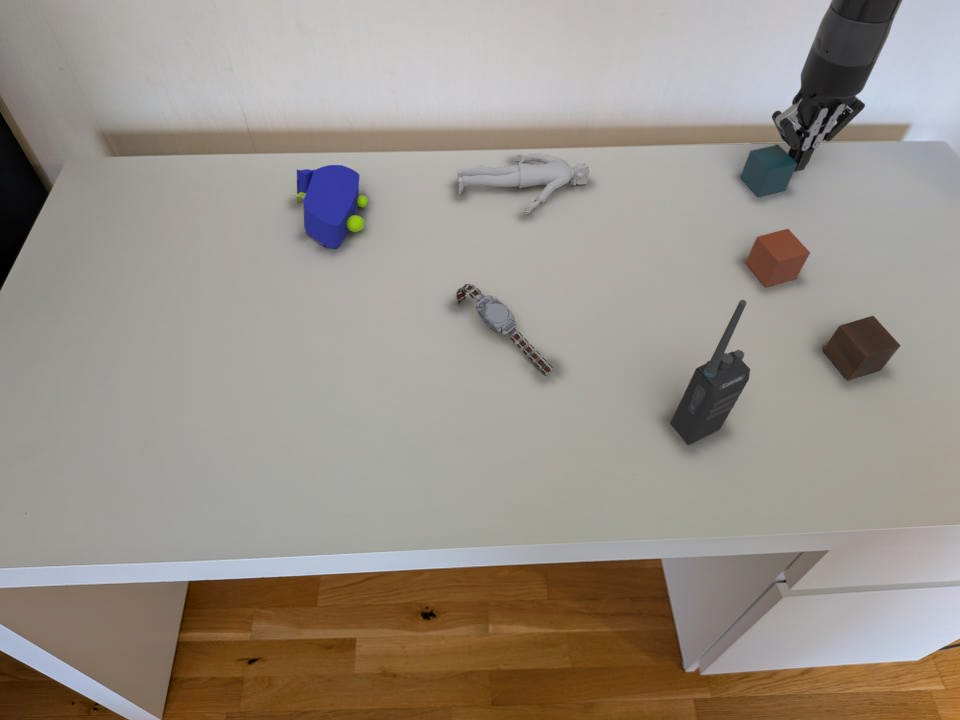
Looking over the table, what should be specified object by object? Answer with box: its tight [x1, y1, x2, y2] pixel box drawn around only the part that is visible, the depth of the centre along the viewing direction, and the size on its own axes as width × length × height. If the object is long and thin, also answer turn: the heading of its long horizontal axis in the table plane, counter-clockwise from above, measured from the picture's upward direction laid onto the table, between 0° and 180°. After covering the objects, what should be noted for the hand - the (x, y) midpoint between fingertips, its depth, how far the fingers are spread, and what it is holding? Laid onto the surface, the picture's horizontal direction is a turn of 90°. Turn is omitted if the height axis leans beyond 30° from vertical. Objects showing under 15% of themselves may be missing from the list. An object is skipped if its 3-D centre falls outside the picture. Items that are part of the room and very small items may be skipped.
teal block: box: [739, 144, 797, 198], centre depth 93 cm, size 4×4×4 cm
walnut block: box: [822, 315, 902, 381], centre depth 75 cm, size 4×4×4 cm
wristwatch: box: [455, 283, 554, 376], centre depth 78 cm, size 4×14×5 cm, turn 45°
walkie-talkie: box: [670, 299, 751, 445], centre depth 63 cm, size 5×3×20 cm
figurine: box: [457, 152, 590, 215], centre depth 93 cm, size 12×4×18 cm
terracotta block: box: [745, 228, 811, 288], centre depth 83 cm, size 4×4×4 cm
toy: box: [291, 164, 369, 249], centre depth 89 cm, size 12×6×10 cm
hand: (794, 167), depth 94 cm, fingers closed
